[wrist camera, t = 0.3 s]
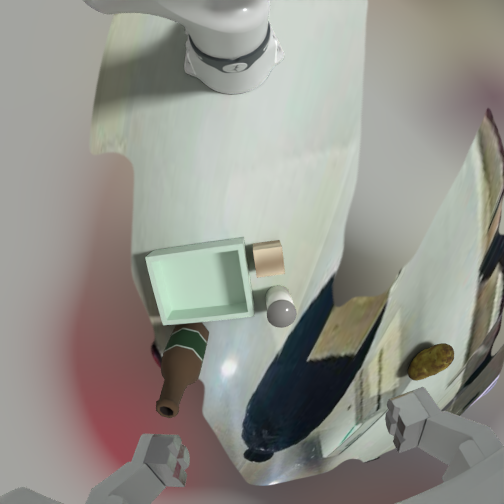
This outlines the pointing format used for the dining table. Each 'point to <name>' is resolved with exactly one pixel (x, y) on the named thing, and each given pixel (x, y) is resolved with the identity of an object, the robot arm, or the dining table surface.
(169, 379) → the beer bottle
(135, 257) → the dining table surface
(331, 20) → the dining table surface
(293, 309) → the white jar
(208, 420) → the dining table surface
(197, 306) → the tote
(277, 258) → the beech cube
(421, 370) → the potato
